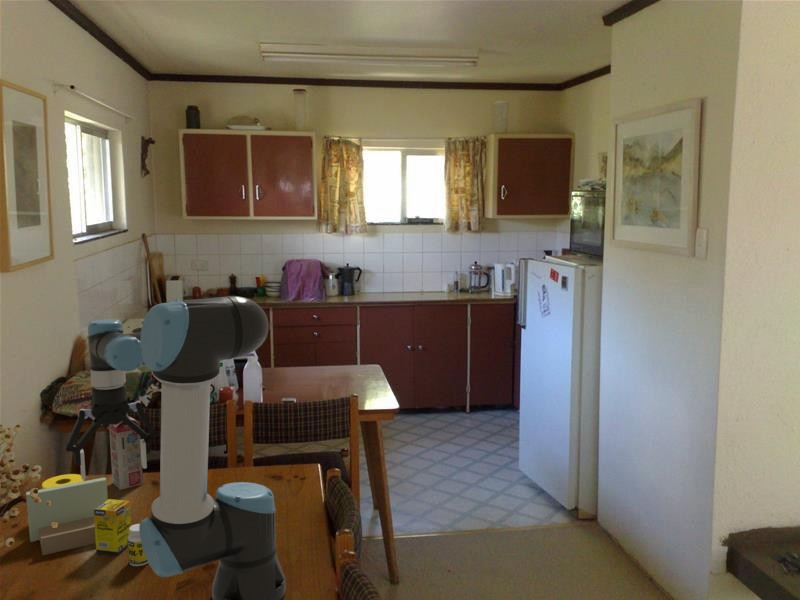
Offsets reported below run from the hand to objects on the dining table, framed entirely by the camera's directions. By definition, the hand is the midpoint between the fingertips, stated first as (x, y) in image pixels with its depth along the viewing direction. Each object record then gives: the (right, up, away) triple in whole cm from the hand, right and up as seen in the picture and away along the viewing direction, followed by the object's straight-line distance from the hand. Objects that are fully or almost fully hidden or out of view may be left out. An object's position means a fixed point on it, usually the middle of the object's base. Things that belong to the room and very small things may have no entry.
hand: (114, 472), depth 168 cm
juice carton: (-12, -13, +39) cm, 43 cm away
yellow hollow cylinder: (-20, -16, +18) cm, 31 cm away
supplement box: (0, -18, 0) cm, 18 cm away
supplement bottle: (+9, -19, -7) cm, 22 cm away
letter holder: (-12, -17, +5) cm, 22 cm away
